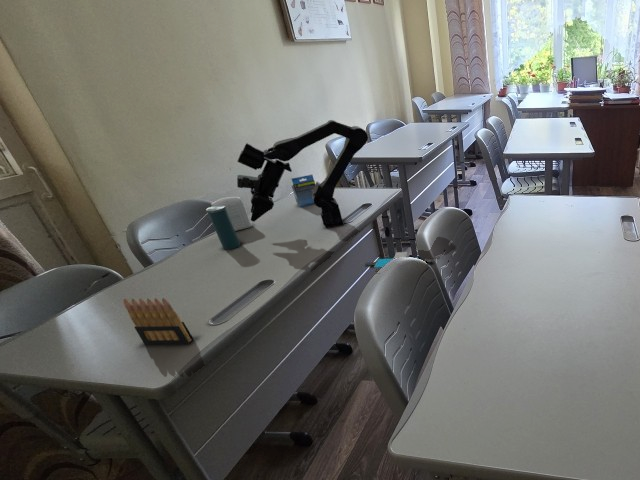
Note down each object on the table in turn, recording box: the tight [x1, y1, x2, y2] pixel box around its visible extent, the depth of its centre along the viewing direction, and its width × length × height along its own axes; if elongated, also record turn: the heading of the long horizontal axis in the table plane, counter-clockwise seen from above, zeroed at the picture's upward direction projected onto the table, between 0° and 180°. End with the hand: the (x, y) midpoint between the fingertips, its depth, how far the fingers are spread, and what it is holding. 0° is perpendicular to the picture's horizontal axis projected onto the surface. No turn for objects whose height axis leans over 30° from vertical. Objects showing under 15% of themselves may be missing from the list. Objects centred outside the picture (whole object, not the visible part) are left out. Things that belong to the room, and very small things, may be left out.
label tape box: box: [290, 174, 316, 208], centre depth 171 cm, size 9×4×12 cm, turn 130°
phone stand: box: [363, 251, 432, 274], centre depth 121 cm, size 20×12×2 cm, turn 91°
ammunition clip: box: [123, 297, 194, 346], centre depth 89 cm, size 11×2×12 cm, turn 88°
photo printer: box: [210, 196, 252, 232], centre depth 148 cm, size 10×4×12 cm, turn 134°
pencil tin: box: [205, 205, 241, 250], centre depth 134 cm, size 6×6×14 cm
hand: (252, 216), depth 138 cm, fingers open, 9 cm apart
